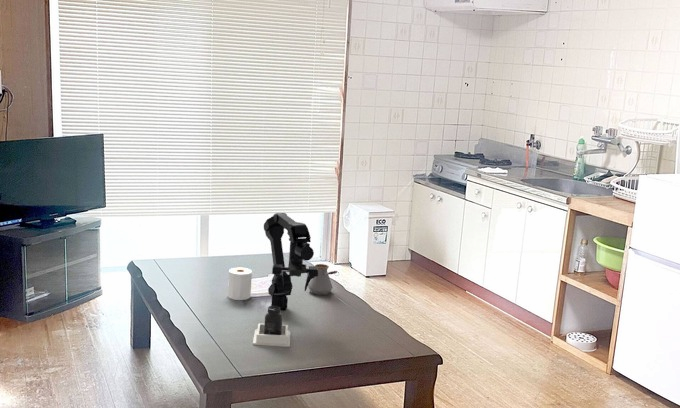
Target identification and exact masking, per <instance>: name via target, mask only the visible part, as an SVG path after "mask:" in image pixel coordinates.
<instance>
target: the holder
mask: <svg viewBox="0 0 680 408" xmlns="http://www.w3.org/2000/svg"><path fill="white" fill-rule="evenodd" d="M264 324H265V323H258V324H257V329H254V335H253V341H252V346H270V347H271V346H272V347H285V348H286V347H287V348H288V347H290V346H291V330H288V329H289V325H288V324H282V334H281V335H267V334H264Z"/></svg>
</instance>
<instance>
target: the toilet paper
mask: <svg viewBox="0 0 680 408" xmlns="http://www.w3.org/2000/svg"><path fill="white" fill-rule="evenodd" d="M252 279H253V270H252V269H249V268H247V267H232V268H230V269H229V270H228V286H227V288H228V289H227V298H229V299H231V300H234V301H246V300H249V299H251V297H252V296H251V294H252Z"/></svg>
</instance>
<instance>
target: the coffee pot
mask: <svg viewBox="0 0 680 408" xmlns="http://www.w3.org/2000/svg"><path fill="white" fill-rule="evenodd" d="M314 266H316V267H318V276H317V277H315V278H312V279H311V280H310V282H309V284H308V287H307V288H308V290H309V291H311V293H312V294H314V295H317V296H325V295H328V294H329V293H330V292H331V291H332V289H333V284H332V281H331V277H330V275H333V274H334V275H335V276H339V274H340V272H338V270H333V271H332V270H331V271H329V272H328V269H329V265H328V264H323V263H319V264H318V263H317V264H315V265H314ZM337 273H338V275H337Z"/></svg>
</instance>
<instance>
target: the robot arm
mask: <svg viewBox="0 0 680 408" xmlns="http://www.w3.org/2000/svg"><path fill="white" fill-rule="evenodd" d="M285 230H286V231H287V232H286V233H287V235H288V237H289V238H288V241H289V242H290V243H289V253H288V254H289V255H288V258H289V259H288V267H287V266H286V264H285V259H284V250H283V243H282V238H283V236H284V233H285ZM263 231H264V233H265V236H266V238H267V239H268V240H269V242H270V249H271V256H272V263H273V265H272V267H271V268H272V271H271V272H272V273H271V274H272V275H273V276H272V278H271V285H270V286H269V287H268V289H267V291H268V295H269V296H271V303H270V304H271V305H270V306H278V307H280V312H281V311H282V312H284V311H285V312H286V311H287V308H288V301H289V300H288V299H289V297H288V296H291V294H292V289H293V282H292V278H291V277H298V278H300V277H301V276H302V274H307V275H306V277H305V278H306V279H305V284H304V292H307V288H308V284H309V283H310V281H311V279H312V278H315V277H317V276H318V267H316V266H315V265H313V266H312V265H309V266H308V267H307V264H304V261H307V262H308V261H310V260H312V259H313V257H314V253H315V252H314V249H313V248H312V247H311V245H310V243H311V238H312V237H311V234H310V231H309V229H308V226H307V224H306V223H304V222H298V221H295V220H294V219H293V218H291V217H290V216H289V215H288V214H287V213H285V212H276V213H274V214H273V215H272V216H271V217H269V218H267V219H266V220H265V222H264V223H263Z"/></svg>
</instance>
